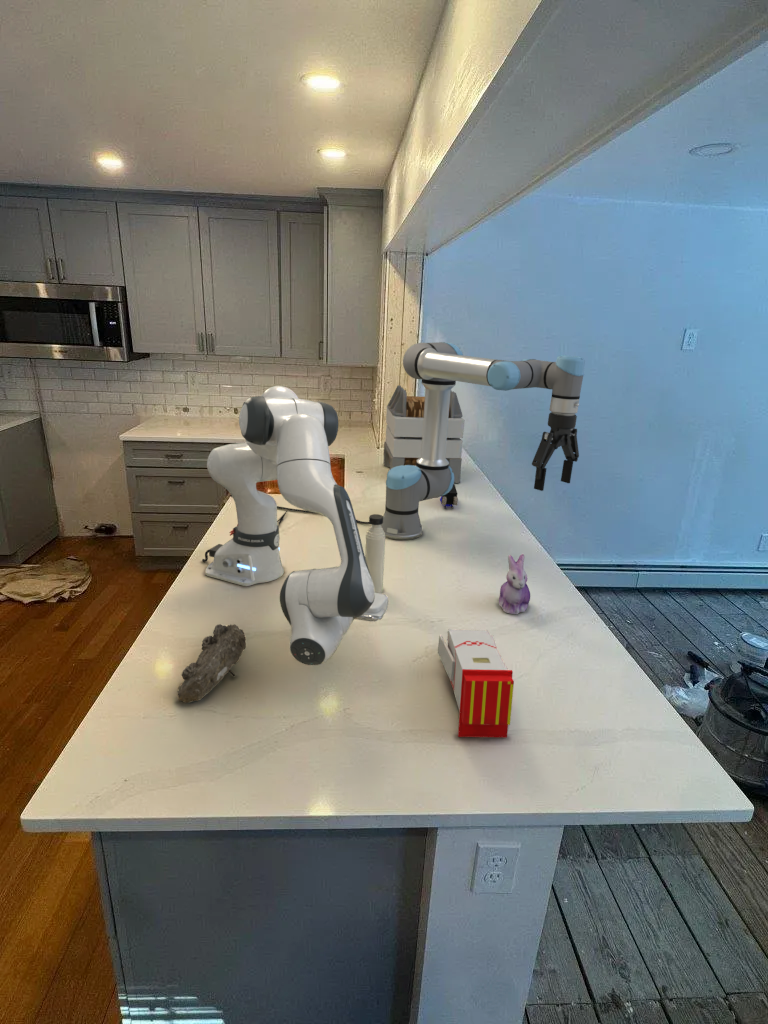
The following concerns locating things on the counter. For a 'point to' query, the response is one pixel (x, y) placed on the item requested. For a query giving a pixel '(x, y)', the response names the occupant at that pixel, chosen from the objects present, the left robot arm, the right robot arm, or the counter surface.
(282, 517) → the feather
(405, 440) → the grey slatted crate
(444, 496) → the figurine character
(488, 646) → the toy
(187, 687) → the fossil
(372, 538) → the bottle
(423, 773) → the counter surface
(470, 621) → the counter surface
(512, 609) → the figurine
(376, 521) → the cap
